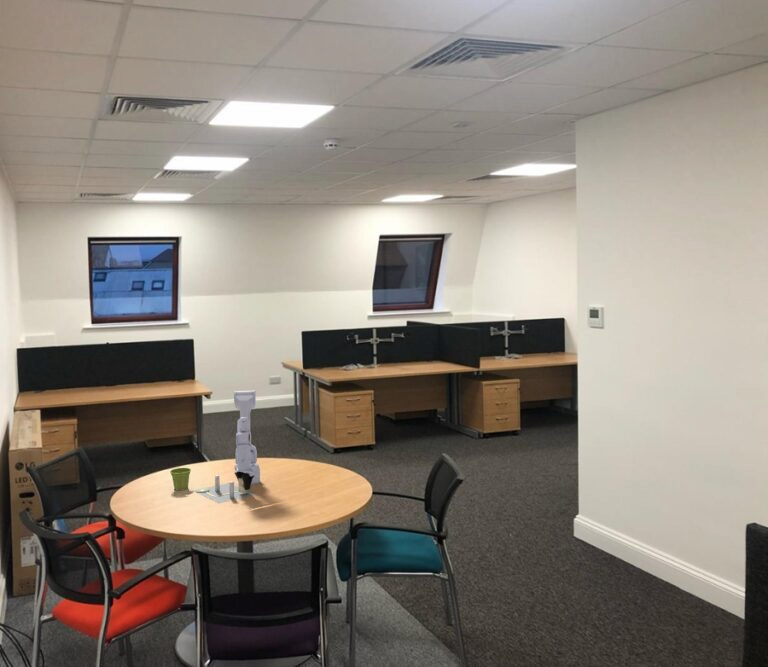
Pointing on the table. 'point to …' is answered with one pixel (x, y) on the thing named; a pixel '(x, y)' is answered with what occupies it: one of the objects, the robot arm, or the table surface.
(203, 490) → the pad
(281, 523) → the table surface
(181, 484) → the plant pot
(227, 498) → the board
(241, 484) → the block
